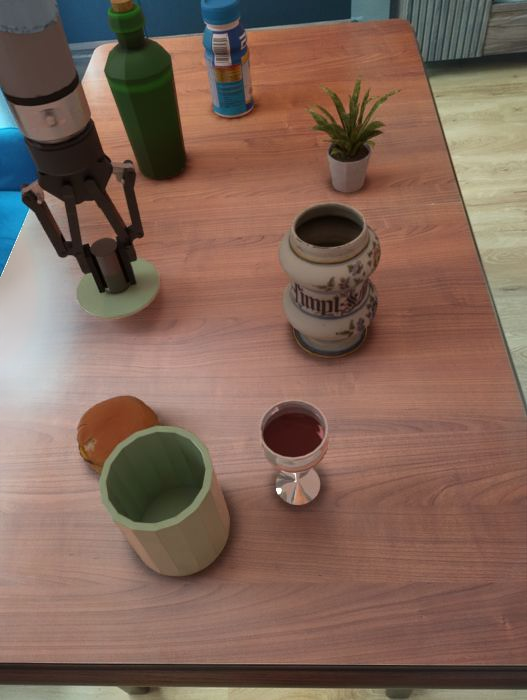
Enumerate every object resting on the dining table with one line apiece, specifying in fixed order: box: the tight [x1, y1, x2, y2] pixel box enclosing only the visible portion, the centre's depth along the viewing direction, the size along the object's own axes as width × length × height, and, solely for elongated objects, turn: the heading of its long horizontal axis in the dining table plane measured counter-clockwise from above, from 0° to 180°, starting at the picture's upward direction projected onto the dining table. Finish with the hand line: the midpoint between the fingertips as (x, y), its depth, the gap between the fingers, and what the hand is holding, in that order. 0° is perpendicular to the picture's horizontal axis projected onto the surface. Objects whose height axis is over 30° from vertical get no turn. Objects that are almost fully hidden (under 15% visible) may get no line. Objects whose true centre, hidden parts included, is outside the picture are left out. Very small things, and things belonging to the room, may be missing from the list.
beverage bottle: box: [200, 0, 255, 119], centre depth 108 cm, size 8×8×20 cm
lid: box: [76, 237, 161, 320], centre depth 79 cm, size 12×12×8 cm
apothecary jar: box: [277, 201, 382, 359], centre depth 71 cm, size 12×12×18 cm
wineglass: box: [257, 398, 330, 506], centre depth 60 cm, size 7×7×12 cm
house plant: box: [305, 74, 403, 193], centre depth 92 cm, size 14×14×16 cm
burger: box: [76, 394, 163, 476], centre depth 68 cm, size 10×9×5 cm
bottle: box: [103, 0, 187, 180], centre depth 95 cm, size 11×11×28 cm
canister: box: [98, 425, 231, 577], centre depth 58 cm, size 10×10×12 cm
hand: (116, 281), depth 80 cm, fingers closed on lid, 4 cm apart
